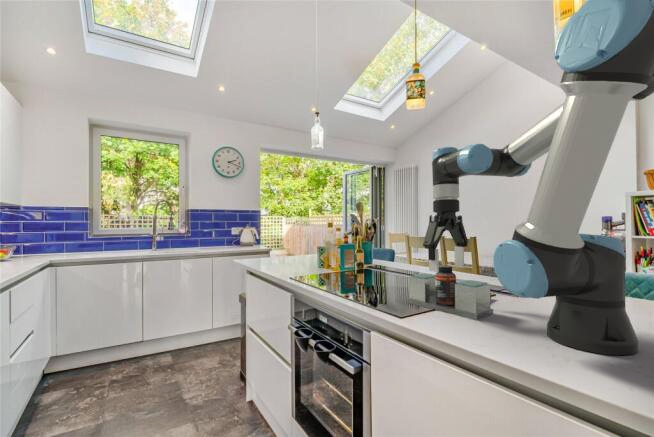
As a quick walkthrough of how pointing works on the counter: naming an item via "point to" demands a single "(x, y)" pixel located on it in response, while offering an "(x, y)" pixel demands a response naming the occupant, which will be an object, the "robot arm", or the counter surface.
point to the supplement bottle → (445, 285)
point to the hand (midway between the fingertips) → (447, 269)
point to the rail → (468, 297)
